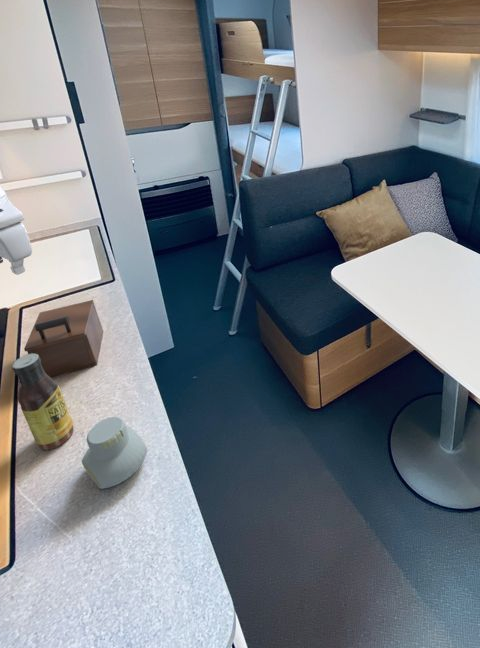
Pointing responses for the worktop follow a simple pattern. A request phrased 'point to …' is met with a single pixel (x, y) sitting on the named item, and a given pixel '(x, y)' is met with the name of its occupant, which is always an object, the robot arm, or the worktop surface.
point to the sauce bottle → (42, 403)
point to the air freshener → (113, 452)
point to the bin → (72, 351)
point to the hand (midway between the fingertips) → (8, 267)
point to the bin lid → (60, 325)
